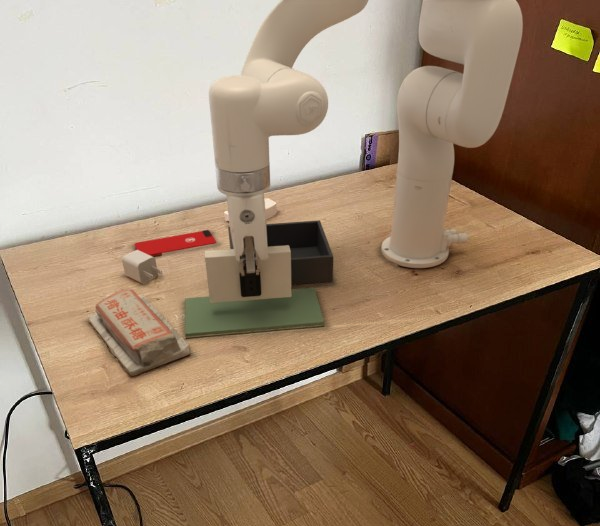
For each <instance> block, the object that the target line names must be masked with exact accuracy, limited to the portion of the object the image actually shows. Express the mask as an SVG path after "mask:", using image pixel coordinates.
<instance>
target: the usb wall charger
mask: <svg viewBox="0 0 600 526" xmlns="http://www.w3.org/2000/svg"><path fill="white" fill-rule="evenodd" d="M121 263H122V267H123V271H124V275H125V276H127V277H128V278H130V279H132V280H134V281H137V282H138V283H140V284H144V285H145V284H146V283H148V282H150V281H151V280H154V279H155V278H157V277H158V275H163V271H162V269H159V268H158V266H157V259H156V258H155V256H150V255H148V254H146V253H143V252H141V251H139V250H136V249H135V250H133V251H131V252H129V253H127V254H124V255H123V256H122V257H121Z"/></svg>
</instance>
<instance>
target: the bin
mask: <svg viewBox="0 0 600 526" xmlns="http://www.w3.org/2000/svg"><path fill="white" fill-rule="evenodd" d="M266 228H267V246H268V247H271V246H286V245H289V247H290V251H291V287H293V286H308V285H315V284H316V285H317V284H318V285H319V284H332V283H333V281H334V278H333V277H334V254H333V252H332V249H331V246H330V244H329V242H328V241H329V240H328V238H327V235H326V233H325V230H324V228H323V225H322V222H321V220H319V219H318V220H306V221H305V220H303V221H292V222H291V221H290V222H289V221H288V222H277V223H266ZM227 230H228V239H229V240H228V241H229V249H234V247H233V242H232V237H231V231H230V226H228V227H227Z"/></svg>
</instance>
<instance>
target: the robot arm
mask: <svg viewBox="0 0 600 526" xmlns="http://www.w3.org/2000/svg"><path fill="white" fill-rule="evenodd" d="M368 3H369V0H279V1H278V3H277V4H276V5H275V6H274V7H273V8H272V9H271V10H270V12H269V13H268V15H266V17H265V18H264V20H263V21H262V23H261V25H260V26H259V28H258V30H257V32H256V34H255V36H254V38H253V41H252V43H251V45H250V47H249V50H248V53H247V55H246V58H245V60H244V62H243V65H242V68H241V70H240V75H229V76H228V75H227V76H224V77H220V78H217V79H215V80H214V81H212V82H211V84H210V87H209V89H208V102H209V103H208V104H209V113H210V115H209V116H210V122H211V123H210V124H211V135H212V145H213V155H214V156H213V157H214V167H215V178H216V189H217V190H218V192H220V193H221V194H223V195H225V196H226V204H227V211H228V215H229V221H228V222H229V223H228V225H229V227H230V231H231V237H232V242H233V247H234V252H235V257H236V260H237V261H238V262H240V266H241V273H239V275H240V289H241V296H242V297H252V296H260V295H261V276H260V272H259V261H258V259H259V258H260V259H261V260H267V259H268V246H267V228H266V224H267V219H266V211H265V200H264V199H265V193H266V192H268V191H269V190H270V188H271V166H270V165H271V164H270V163H271V161H270V138H271V137H275V136H276V137H277V136H279V137H280V136H300V135H304V134H305V135H306V134H308V133H311V132H312V131H314V130H315V129H317V128H318V127H319V126H320V125H321V124H322V123H323V122H324V120H325V118H326V116H327V114H328V109H329V97H328V93H327V91H326V89H325V87H324V85H323V84H322V83H321V81H319V80H318V79H317V78H315V77H314V76H312V75H310V74H307V73H305V72H303V71H300V70H297V69H295V68H293V67H294V65H295V62H296V61H297V59H298V57H299V56H300V54H301V52H302V51H303V49H304V48H305V47H306V46H307V44H309V43H310V41H312V39H314V38H315V37H316V36H317V35H320V33H322V32H323V31H325V30H326V29H329V28H331V27H333V26H336V25H338V24H340V23H342V22H344V21H346V20H349V19H351V18H352V17H354V16H356V15H358V14H359V13H361V12H362V11H363V10H364V9H365V8H366V6H367V4H368ZM523 27H524V22H523V13H522V9H521V7H520V4H519V3H518V1H517V0H422V3H421V8H420V15H419V22H418V41H419V45H420V47H421V48H422V50H423V51H425V52H426V53H427V54H429V55H431V56H433V57H436V58H438V59H443V60H444V61H449V62H453V63H457V64H461V65H463V72H460V71H456V70H453V69H449V68H445V67H442V66H436V65H424V66H419V67H417V68H415V69H413V70H412V71H410V72H409V73H408V74H407V75H406V76H405V78H404V79H403V81H402V82H401V85H400V87H399V90H398V93H397V98H396V99H397V100H396V113H397V125H398V155H397V156H398V157H397V168H396V176H395V188H394V199H393V208H392V219H391V228H390V229H391V230H390V236H388V237H387V238H385V239H383V241H382V242H381V248H380V249H381V250H380V251H381V253H382V255H383V256H384V258H386V259H387V260H388V261H390V262H392V263H394V264H397V265H398V266H400V267H405V268H409V269H427V268H428V269H429V268H433V267H436V266H439V265H441V264H443V263H444V262H446V260H447V259H448V257H449V254H450V248H449V247H451V246H452V245H464V244H467V243H468V241H469V235H468V233H467V232H460V233H458V230H457V228H451V229H450V228H449V229H445V225H446V218H447V211H448V210H447V209H448V205H449V199H450V193H451V185H452V180H453V174H454V167H455V147H454V145H457V146H459V147H463V148H467V149H473V148H479V147H481V146H483V145H484V144H486V143H487V142H488V141H489V140H490V139H491V138H492V137H493V135H494V134H495V132H496V130H497V129H498V127H499V124H500V122H501V120H502V115H503V113H504V109H505V107H506V102H507V99H508V94H509V91H510V86H511V84H512V79H513V75H514V71H515V67H516V64H517V59H518V56H519V51H520V48H521V43H522V38H523V31H524V30H523V29H524V28H523ZM242 254H245V255H242ZM258 256H259V258H258ZM254 261H255V262H254ZM244 262H246V264H244Z"/></svg>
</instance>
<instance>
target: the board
mask: <svg viewBox="0 0 600 526" xmlns="http://www.w3.org/2000/svg"><path fill="white" fill-rule="evenodd" d="M242 255H245V254H242ZM258 258H259V256H258ZM258 261H259V272H260V276H261V295H260V296H252V297H242V296H241V289H240V275H239V273H241V266H240V262H238V261H237V260H236V257H235V252H234V249H230V248H228V249H213V250H204V262H205V272H206V279H207V289H208V296H209V298H210V303H219V302H232V301H245V300H258V299H271V298H285V297H291V290H292V286H291V251H290V247H289V245H286V246H271V247H268V259H267V260H261V259H260V258H259V259H258ZM254 262H255V261H254ZM244 264H246V262H244Z"/></svg>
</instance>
